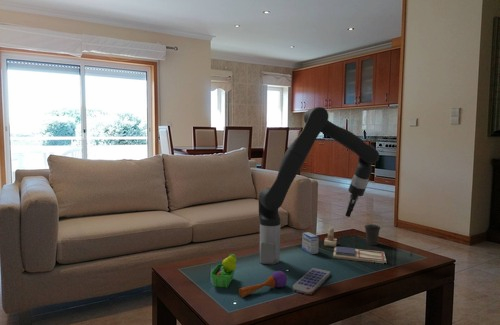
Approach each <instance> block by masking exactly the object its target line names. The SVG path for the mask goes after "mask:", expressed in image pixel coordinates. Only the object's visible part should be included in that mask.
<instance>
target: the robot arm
mask: <svg viewBox="0 0 500 325" xmlns="http://www.w3.org/2000/svg"><path fill="white" fill-rule="evenodd" d="M303 121H304V123H305V125H304V126H303V129H302V131H301V132H300V133H299V134H298V135H297V137H295V139H294V140H293V141H292V143H291V144H290V145H289V146H288V148H287V149H286V151H285V152H284V154H283V157H282V158H281V162H280V164H279V168H278V172H277V176H276V179H275V180H274V182H273V183H272V185H271V187H266V188H265V187H264V188H263V189H262V190H261V191H260V192H259V194H258V218H259V260H260V261H259V262H260V264H264V265H271V266H272V265H273V266H274V265H275V264H278V263H279V262H280V260H281V259H280V258H281V257H280V255H281V253H280V252H281V217H280V215H279V209H280V208H281V207H282V205H283V203H284V201H285V199H286V196H287V194H288V192H289V189H290V187H291V185H292V183H293V182H294V180H295V178H296V176H297V175H298V173H299V171H300V170H301V168H302V166H303V165H304V163H305V161H306V159H307V156H309V153H310V151H311V149H312V147H313V145H314V143H315V141H316V140H317V138H318V136H319V135H320V133H322V134H324V135H326V136H327V137H329V138H331V139H332V140H334V141H335V142H337V143H338V144H340V145H342V146H344V147H345V148H346V149H347V150H349V151H350V152H351V151H352V152H353V153H354V154H356V155H357V156H358V160H357V166H356V168H355V172H354V174H353V176H352V178H351V182H350V183H349V187H348V192H349V193H350V195H349V199H348V204H347V210H346V212H345V217H347V218H350V217H351V214H352V212H354V208H355V207H356V205H357V202H358V200H359V197H362V196H364V195H365V191H366V189H367V186H368V184H369V180H370V177H371V174H372V171H373V166H372V164H375V163H376V162H378V161H379V159H380V152H379V151H378V149H377V148H375V146H374V145H372V144H368V143H366V142H364V140H363V139H362V138H360V137H359V136H358V135H356V134H355V133H353V132H351V131H349V130H348V129H345V128H343V127H340V126H339V125H336V124H334V123H333V122H332V121H329V113H328V110H327V109H326V108H324V107H321V106H317V107H313V108H310V109H308V110H307V111H306V112H305V113H304V115H303Z"/></svg>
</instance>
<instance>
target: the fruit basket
mask: <svg viewBox="0 0 500 325" xmlns="http://www.w3.org/2000/svg"><path fill="white" fill-rule="evenodd" d="M237 261H238V260H237V256H236V255H235V254H234V253H233V254H229V255H228V257H226V258H224V259H223V260H222V262H221V263H219V264H217V265H216V266H215V268H214V269H213V271H212V272H211V273H210V276H211V278H212V282H213V285H214V287H219V288H228V287H229V286H230V283H231V282H232V281H233V279H234V274H235V271H236V268H237Z"/></svg>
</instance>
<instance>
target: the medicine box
mask: <svg viewBox="0 0 500 325" xmlns="http://www.w3.org/2000/svg"><path fill="white" fill-rule="evenodd" d="M301 238H302V239H301V243H302V244H301V250H302V251H304V252H306V253H308V254H310V255H316V254H318V253H319V236H318V235H316V234H314V233H311V232H310V231H309V232H308V231H307V232H302V237H301Z"/></svg>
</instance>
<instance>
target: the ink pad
mask: <svg viewBox="0 0 500 325" xmlns="http://www.w3.org/2000/svg"><path fill="white" fill-rule="evenodd" d="M355 249H356V248H355V247H348V246H347V247H345V246H336V255H346V256H355Z"/></svg>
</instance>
